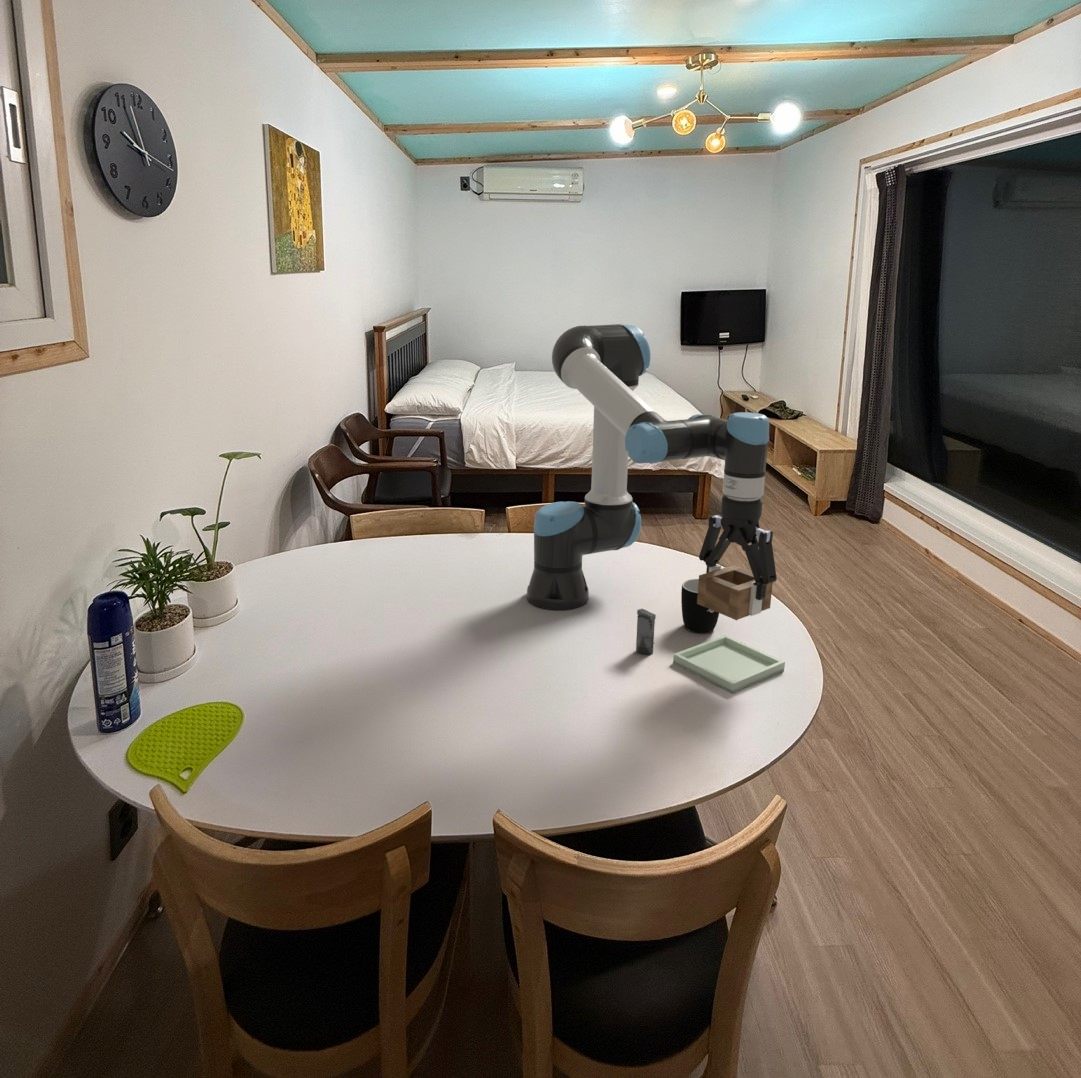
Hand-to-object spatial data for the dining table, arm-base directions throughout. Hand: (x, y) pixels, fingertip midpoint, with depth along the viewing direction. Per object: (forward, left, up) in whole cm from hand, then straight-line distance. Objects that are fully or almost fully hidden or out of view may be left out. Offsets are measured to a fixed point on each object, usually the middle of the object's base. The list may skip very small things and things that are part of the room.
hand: (733, 604), depth 158 cm
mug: (-17, +11, -14) cm, 25 cm away
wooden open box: (0, 0, 0) cm, 0 cm away
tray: (0, 0, -14) cm, 14 cm away
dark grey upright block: (-15, -9, -14) cm, 22 cm away
